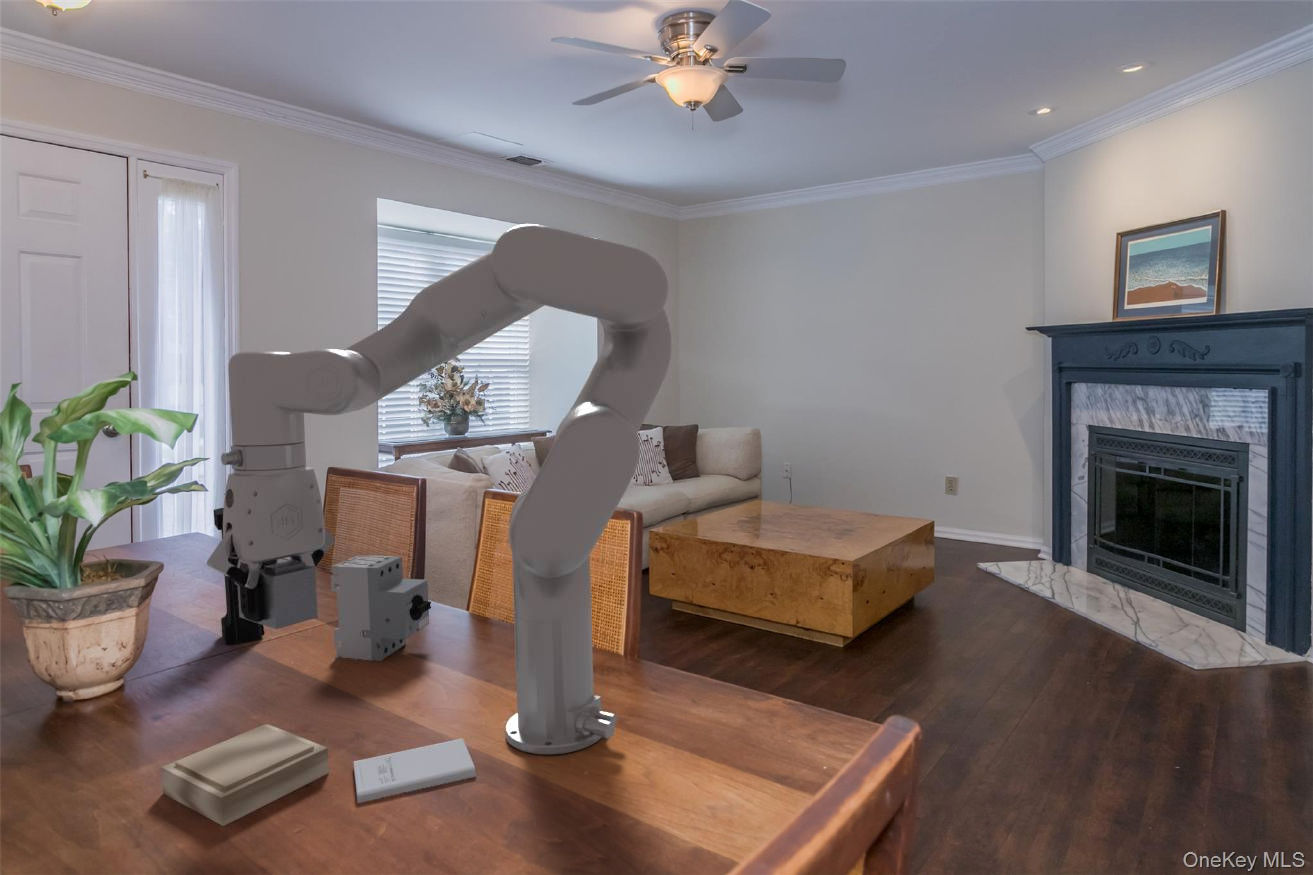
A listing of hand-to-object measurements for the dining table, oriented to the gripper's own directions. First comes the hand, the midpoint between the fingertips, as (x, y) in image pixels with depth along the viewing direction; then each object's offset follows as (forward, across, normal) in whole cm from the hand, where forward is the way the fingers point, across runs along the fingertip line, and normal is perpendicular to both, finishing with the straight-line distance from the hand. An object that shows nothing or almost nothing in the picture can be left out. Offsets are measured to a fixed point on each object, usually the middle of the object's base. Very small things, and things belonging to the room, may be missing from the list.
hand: (278, 611), depth 91 cm
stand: (+18, -6, -2) cm, 19 cm away
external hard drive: (+18, +6, -16) cm, 25 cm away
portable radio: (+18, +19, +47) cm, 54 cm away
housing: (+1, 0, 0) cm, 1 cm away
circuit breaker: (+18, +28, +19) cm, 39 cm away
